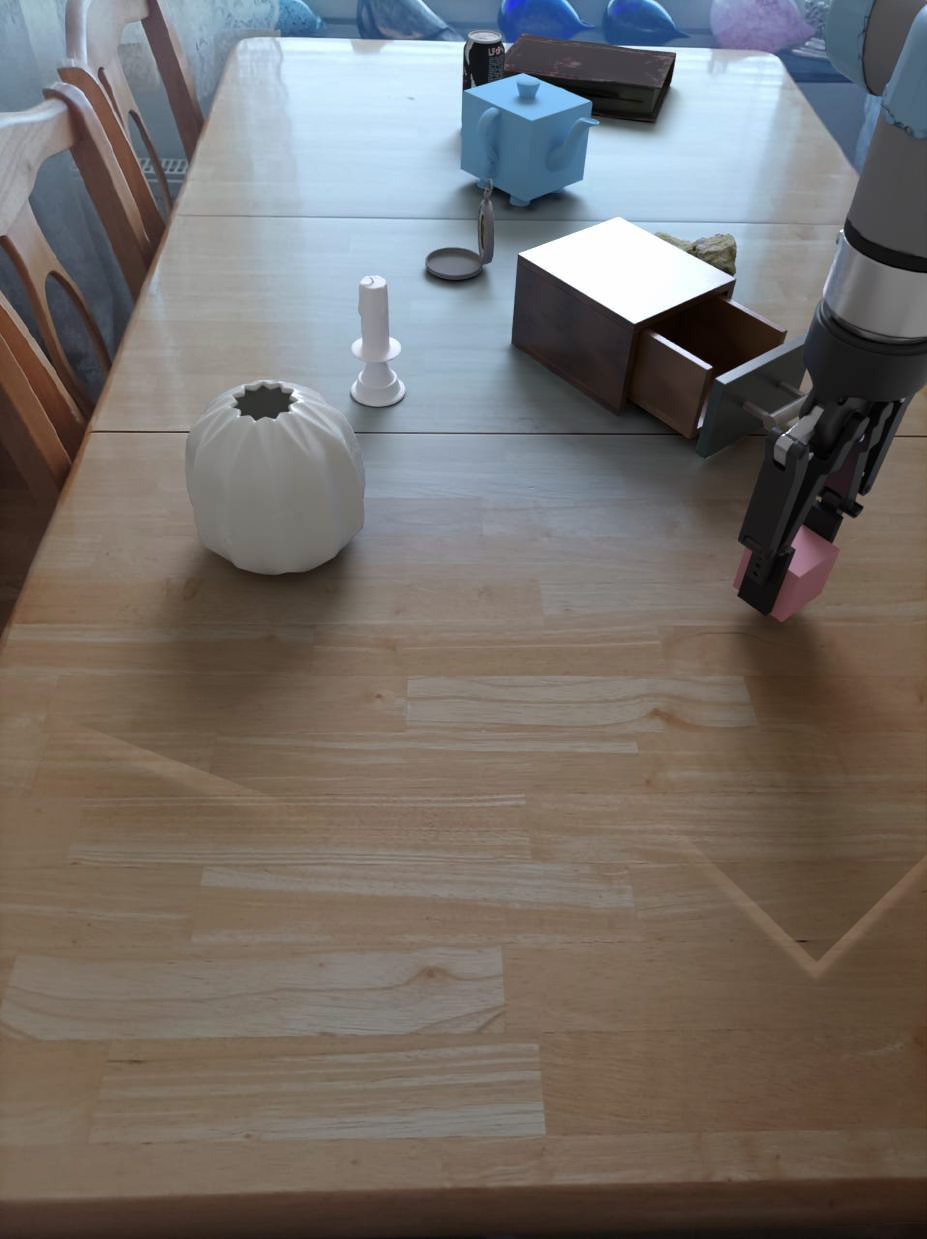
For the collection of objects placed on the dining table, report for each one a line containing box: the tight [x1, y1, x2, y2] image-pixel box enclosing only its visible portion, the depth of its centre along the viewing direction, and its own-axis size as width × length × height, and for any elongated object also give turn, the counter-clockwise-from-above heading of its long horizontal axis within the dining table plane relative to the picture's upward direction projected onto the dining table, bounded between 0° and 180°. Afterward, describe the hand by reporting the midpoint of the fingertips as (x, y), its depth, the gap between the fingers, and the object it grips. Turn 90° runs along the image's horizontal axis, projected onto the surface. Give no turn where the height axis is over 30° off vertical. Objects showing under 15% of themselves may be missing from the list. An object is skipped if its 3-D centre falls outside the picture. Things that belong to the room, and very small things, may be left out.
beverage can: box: [461, 29, 506, 123], centre depth 131 cm, size 6×6×12 cm
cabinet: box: [510, 216, 737, 417], centre depth 93 cm, size 16×14×10 cm
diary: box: [504, 32, 677, 123], centre depth 145 cm, size 19×25×5 cm
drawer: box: [627, 294, 809, 460], centre depth 87 cm, size 18×13×8 cm
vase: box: [184, 378, 367, 576], centre depth 72 cm, size 14×14×13 cm
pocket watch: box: [424, 179, 496, 281], centre depth 104 cm, size 8×8×10 cm
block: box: [732, 524, 841, 623], centre depth 70 cm, size 5×5×5 cm
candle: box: [350, 274, 407, 408], centre depth 87 cm, size 5×5×12 cm
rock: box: [653, 231, 738, 278], centre depth 106 cm, size 11×6×10 cm
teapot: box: [460, 73, 600, 207], centre depth 117 cm, size 18×16×13 cm
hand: (777, 587), depth 72 cm, fingers closed on block, 5 cm apart
